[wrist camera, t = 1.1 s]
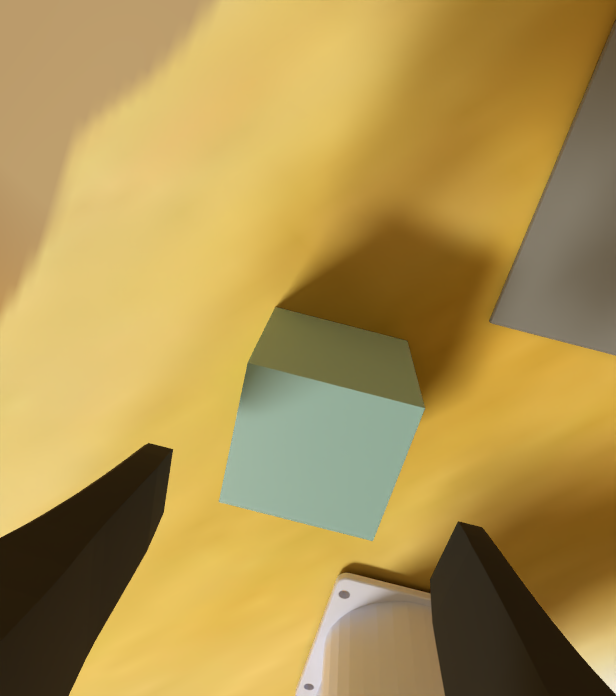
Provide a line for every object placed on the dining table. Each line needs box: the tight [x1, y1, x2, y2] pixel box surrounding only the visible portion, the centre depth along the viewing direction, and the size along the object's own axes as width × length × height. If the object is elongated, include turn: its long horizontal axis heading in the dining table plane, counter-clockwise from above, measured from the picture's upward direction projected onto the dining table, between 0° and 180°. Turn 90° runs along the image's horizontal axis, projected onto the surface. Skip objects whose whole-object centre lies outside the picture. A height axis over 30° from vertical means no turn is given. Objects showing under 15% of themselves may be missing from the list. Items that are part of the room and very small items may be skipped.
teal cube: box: [219, 307, 425, 541], centre depth 16 cm, size 5×5×5 cm
